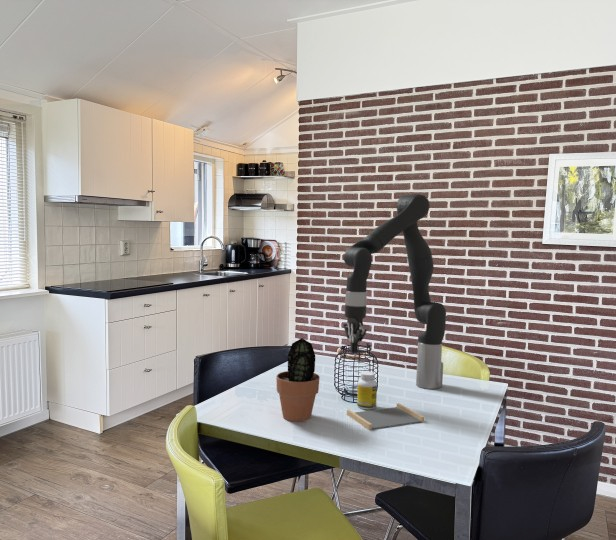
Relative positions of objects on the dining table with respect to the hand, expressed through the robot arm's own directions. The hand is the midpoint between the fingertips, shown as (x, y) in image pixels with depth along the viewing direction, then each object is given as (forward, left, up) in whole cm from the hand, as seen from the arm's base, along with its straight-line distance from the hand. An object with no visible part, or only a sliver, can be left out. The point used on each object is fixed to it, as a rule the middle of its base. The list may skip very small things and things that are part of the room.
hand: (353, 352), depth 182 cm
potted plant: (+26, +11, -17) cm, 33 cm away
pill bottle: (0, +10, -17) cm, 20 cm away
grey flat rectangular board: (0, +21, -17) cm, 27 cm away
